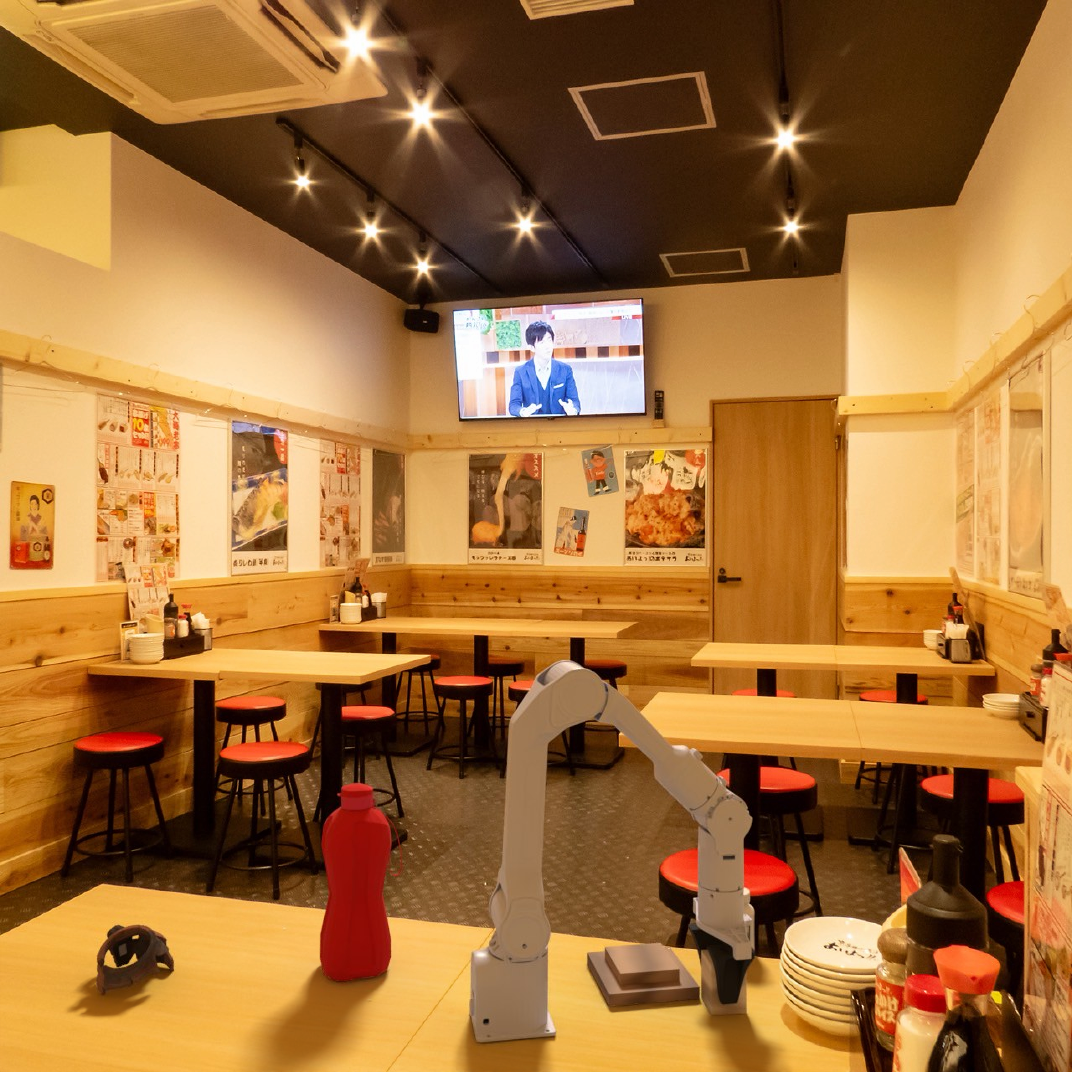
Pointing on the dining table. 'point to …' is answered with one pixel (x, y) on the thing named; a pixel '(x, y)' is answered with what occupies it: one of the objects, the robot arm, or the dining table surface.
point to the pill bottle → (750, 912)
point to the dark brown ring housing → (123, 947)
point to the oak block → (711, 992)
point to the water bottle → (356, 887)
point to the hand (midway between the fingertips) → (720, 992)
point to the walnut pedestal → (641, 975)
